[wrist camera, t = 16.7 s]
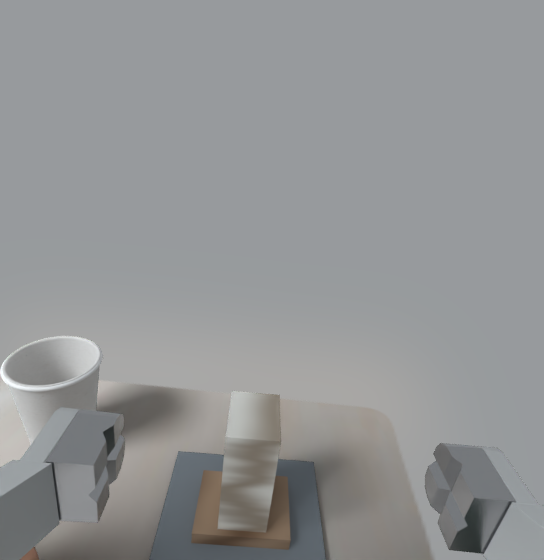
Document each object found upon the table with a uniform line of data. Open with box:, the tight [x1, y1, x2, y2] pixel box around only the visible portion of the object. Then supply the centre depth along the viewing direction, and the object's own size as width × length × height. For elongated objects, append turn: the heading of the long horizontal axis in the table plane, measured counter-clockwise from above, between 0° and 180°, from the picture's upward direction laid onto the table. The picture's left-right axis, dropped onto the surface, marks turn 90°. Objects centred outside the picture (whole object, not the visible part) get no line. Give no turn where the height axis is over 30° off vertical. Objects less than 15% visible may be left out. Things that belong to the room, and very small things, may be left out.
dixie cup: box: [0, 336, 103, 444], centre depth 38 cm, size 8×8×10 cm
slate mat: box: [149, 451, 326, 560], centre depth 35 cm, size 14×12×1 cm
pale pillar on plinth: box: [191, 391, 291, 550], centre depth 32 cm, size 8×6×11 cm
